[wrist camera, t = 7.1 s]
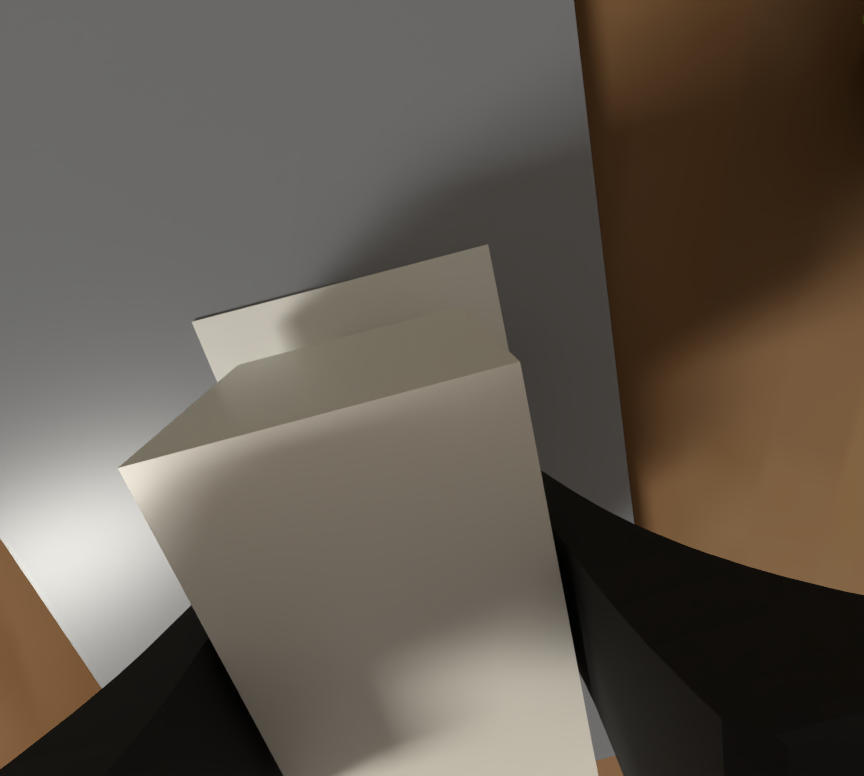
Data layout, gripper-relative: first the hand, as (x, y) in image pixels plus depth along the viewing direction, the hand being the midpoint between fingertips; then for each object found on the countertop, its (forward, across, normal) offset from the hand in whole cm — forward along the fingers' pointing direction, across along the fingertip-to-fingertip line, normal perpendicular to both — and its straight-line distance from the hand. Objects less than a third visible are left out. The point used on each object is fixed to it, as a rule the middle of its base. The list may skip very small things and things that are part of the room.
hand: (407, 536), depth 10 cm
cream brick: (+1, 0, 0) cm, 1 cm away
